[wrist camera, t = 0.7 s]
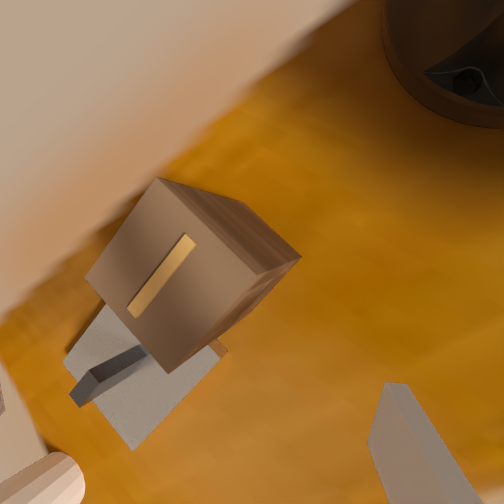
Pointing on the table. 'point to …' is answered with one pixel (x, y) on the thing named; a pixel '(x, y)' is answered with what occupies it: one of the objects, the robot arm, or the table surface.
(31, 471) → the white cup
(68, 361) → the grey stand base
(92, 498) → the table surface
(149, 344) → the brown slotted box
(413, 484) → the robot arm
